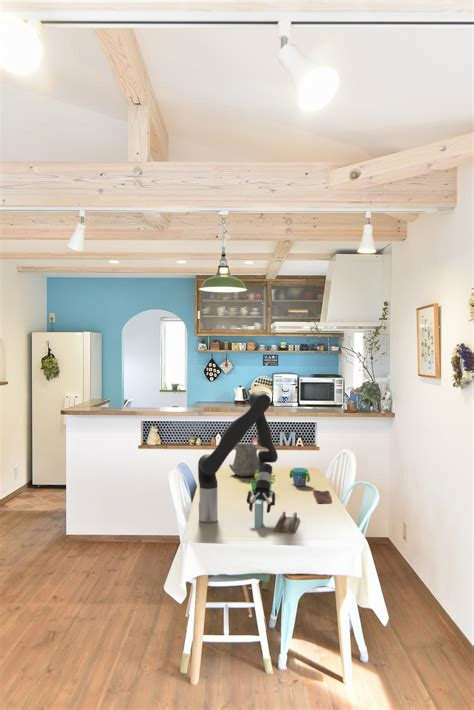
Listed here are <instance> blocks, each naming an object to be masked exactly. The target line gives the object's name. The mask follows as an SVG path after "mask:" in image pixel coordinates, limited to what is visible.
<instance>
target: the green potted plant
mask: <svg viewBox="0 0 474 710" xmlns="http://www.w3.org/2000/svg"><path fill="white" fill-rule="evenodd" d="M258 472H259V470H257V471H256V472H255V475H254V479H255V480H250V481H249V483H250V487H251V488H252V490H253V491H254V492H255V488H256V481H257V476H258Z"/></svg>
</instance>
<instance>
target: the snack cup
mask: <svg viewBox="0 0 474 710" xmlns="http://www.w3.org/2000/svg"><path fill="white" fill-rule="evenodd" d="M289 479H292V481H293V485H294V486H295V487H305V486H306V484H307V483H310V482H311V477H310V473H309V469H308V468H305V467H293V468H291V469H290V471H289Z"/></svg>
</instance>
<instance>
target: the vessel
mask: <svg viewBox="0 0 474 710" xmlns="http://www.w3.org/2000/svg"><path fill="white" fill-rule="evenodd" d="M234 449H235V454H234V459H233V463H232V464H231V463H229V464H228V467H229V468H230V470H231V471H232V473H234V474H235V475H237V476H238V477H242V478H243V477H244V478H245V477H246V478H247V477H254V476H255V472H256V471H257V470H259V460H258V453H257V452H258V446H257V445H255V444H254V445H253V444H237V445H236V446H235V448H234Z"/></svg>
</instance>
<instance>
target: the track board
mask: <svg viewBox="0 0 474 710" xmlns="http://www.w3.org/2000/svg"><path fill="white" fill-rule="evenodd" d="M300 520H301V519H300V517H298V516H297V512H294V513H293V515H292V516H286V511H282V513H281V515H280V516H279V518H278V520H277V522H276V524H275V526H274V527H273V533H274V532H275V533H284V534H285V533H286V534H295V533H296V530H297V527H298V525H299V524H300V523H299V522H300Z"/></svg>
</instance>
